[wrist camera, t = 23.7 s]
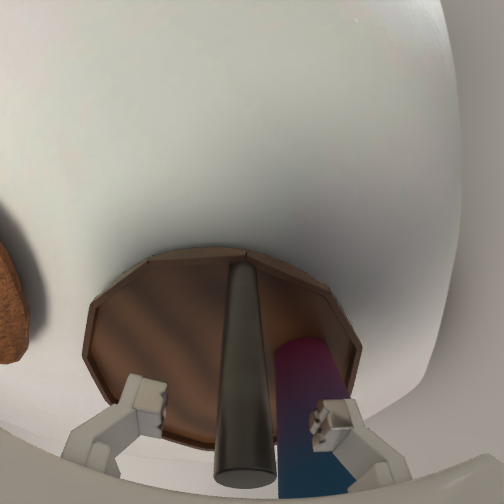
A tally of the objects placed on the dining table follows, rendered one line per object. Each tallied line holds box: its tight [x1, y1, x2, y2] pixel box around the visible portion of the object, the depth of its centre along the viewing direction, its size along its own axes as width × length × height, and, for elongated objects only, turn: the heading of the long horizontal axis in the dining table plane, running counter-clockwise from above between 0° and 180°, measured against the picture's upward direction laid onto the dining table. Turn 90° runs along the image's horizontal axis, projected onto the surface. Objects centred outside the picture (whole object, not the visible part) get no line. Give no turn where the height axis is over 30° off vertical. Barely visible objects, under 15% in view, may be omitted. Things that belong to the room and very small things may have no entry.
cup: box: [274, 337, 357, 499], centre depth 18 cm, size 7×7×15 cm
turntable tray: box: [82, 247, 362, 489], centre depth 19 cm, size 26×26×16 cm
